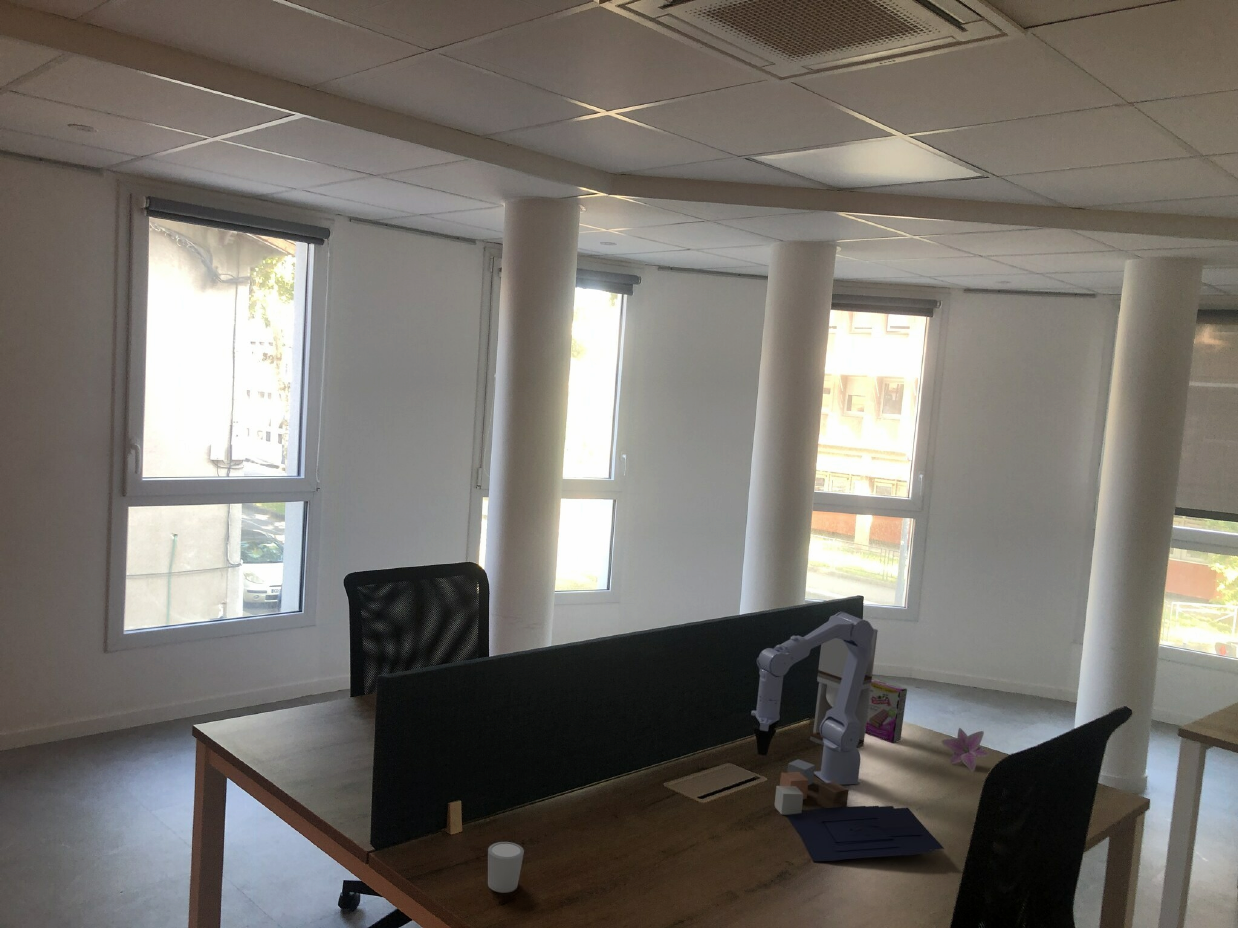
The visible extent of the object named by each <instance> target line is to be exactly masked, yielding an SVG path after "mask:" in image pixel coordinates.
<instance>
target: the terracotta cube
mask: <svg viewBox="0 0 1238 928" xmlns="http://www.w3.org/2000/svg"><path fill="white" fill-rule="evenodd" d="M808 782H809V780H808V779H807V778H805V777H804V776H803V775H802V774H800V773H799V772H781V773H780V781H779V786H796V787H797V788H798V789H799V790H800V791H801V792H802V793H803V800H807V799H808V797H807V796H808V790H809V788H808V787H809V785H808Z"/></svg>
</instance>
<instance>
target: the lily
mask: <svg viewBox="0 0 1238 928" xmlns="http://www.w3.org/2000/svg"><path fill="white" fill-rule="evenodd" d="M984 734H985V732H984V730H981V731H976V732H974V733H971V734H969V735H968V734H967V733H966V731H964V730H963V729H962V727H959V728H958V731H957V738H947V739H943V740H941V742H940V743H941V744H942V745H943V746H945V747H946V748H948V749H949V750H950V751H952V752H953V753H952V756H951V758H950V762H949V764H950V763H951V764H950V765H953V764H956V763H960V762H961V761H962V762H963V763H964V764H965V766H966V767H967V768H968V770H970V771H971V770H973V771H974V772H975V771H976V767H977V766H976V765H977V757H978V758H979V757H988V756H990V754H989V752H987V750H985V749H983V747H980V745H981V742H982V740H983V738H984ZM973 771H972V772H973Z"/></svg>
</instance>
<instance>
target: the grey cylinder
mask: <svg viewBox="0 0 1238 928" xmlns="http://www.w3.org/2000/svg"><path fill="white" fill-rule="evenodd" d="M524 852H525V850H524V848H523V847H522V846H521V845H520V844H518V843H515V842H511V841H510V842H509V841H499V842H495V843H492V844H491V845H489V847H488V848H487V886H488V888H489V889H491V890H492V891H494V892H497V893H503V894H504V893H511V892H514V891H515V890H517V888H518V885H519V884H518V883H519V880H520V876H521V869H522V863H523V859H524Z"/></svg>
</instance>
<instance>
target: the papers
mask: <svg viewBox="0 0 1238 928" xmlns="http://www.w3.org/2000/svg"><path fill="white" fill-rule="evenodd" d="M785 816H786V817H787V819H788V820H789V822H790V823H791V824H792V826H793V827H794V829H795V831H797V833H798V834H799V836H800V838H801V840H802V842H803V844H804V846H805V848H806V850H807V851H808V854H809V855H810V858H811V860H812V862H831V861H832V862H833V861H841V860H842V861H843V860H849V859H852V860H853V859H867V858H877V857H878V858H881V857H891V856H892V857H893V856H901V857H902V856H903V857H904V856H912V855H913V856H914V855H919V854H926V853H927V854H929V853H933V851H935V850H944V849H945V847H944V845H942V844H941V843H940V842H939V841H938V840H937V838H936V837H934V835H933V834H932V833H931V832H930V831H929V830H928V829H927V827H926V826H925V825H924V824H923V823H922V822H921V821H920V820H919V818H918V817H917V816H916V815H915V814H914V813H913V812H912V811H911V809H910V808H909V807H894V806H893V805H886V806H884V805H883V806H879V805H868V806H866V805H858V806H856V805H855V806H847V807H837V808H825V807H823V808H810V809H802V813H798V814H788V815H785Z"/></svg>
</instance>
